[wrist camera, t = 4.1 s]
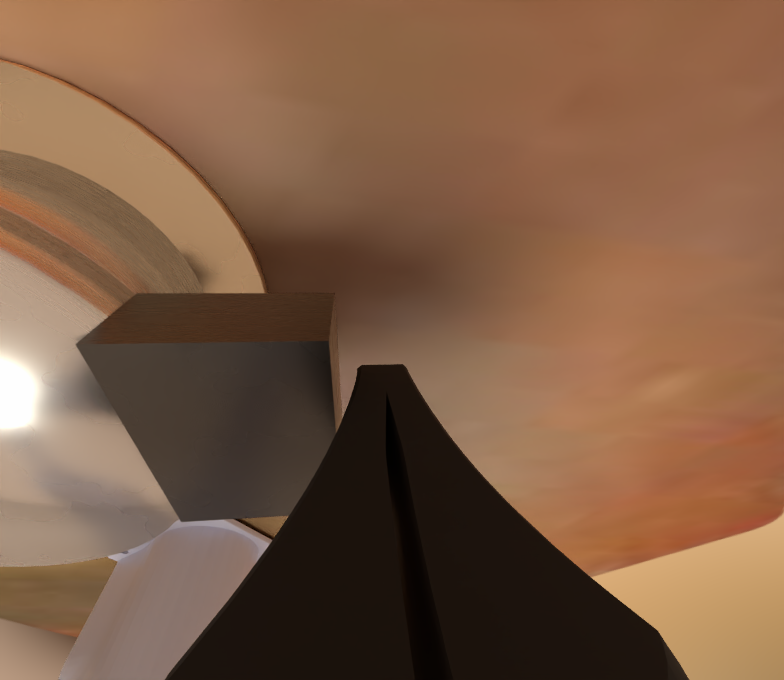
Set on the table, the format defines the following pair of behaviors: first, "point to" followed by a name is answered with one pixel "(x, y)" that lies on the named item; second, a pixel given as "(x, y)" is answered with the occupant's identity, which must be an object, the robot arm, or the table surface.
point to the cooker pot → (115, 191)
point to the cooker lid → (149, 403)
